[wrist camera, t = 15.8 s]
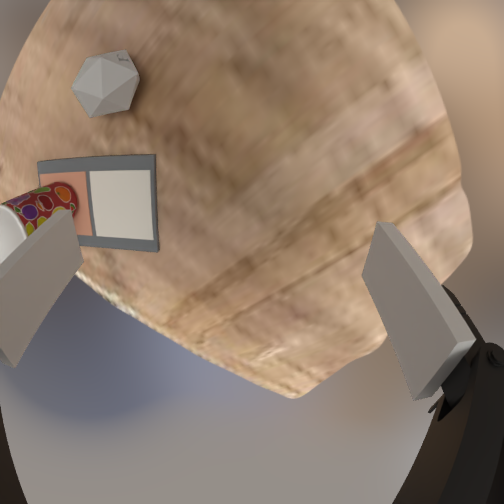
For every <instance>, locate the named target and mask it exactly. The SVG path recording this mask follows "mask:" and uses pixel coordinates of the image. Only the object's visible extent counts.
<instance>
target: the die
mask: <svg viewBox="0 0 504 504" xmlns="http://www.w3.org/2000/svg"><path fill="white" fill-rule="evenodd" d="M139 81H140V78H139V74H138V71H137V70H136V68H135V66H134V64H133V62H132V60H131V58H130V56H129V54H128V53H127V51H126V49H125V50H120V51H115V52H110V53H105V54H101V55H96V56H92V57H88V58H86V60H85V62H84V64H83V66H82V67H81V69H80V71H79V73H78V75H77V77H76V79H75V81H74V83H73V85H72V87H71V89H72V91H73V92H74V94H75V95H76V97H77V99H78V100H79V102H80V103H81V105H82V107H83V108H84V110H85V111H86V113H87V114H88V116H89V118H92V117H96V116H101V115H105V114H110V113H114V112H119V111H124V110H129V108H130V105H131V102H132V99H133V96H134V94H135V91H136V89H137V86H138V83H139Z"/></svg>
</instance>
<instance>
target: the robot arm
mask: <svg viewBox="0 0 504 504" xmlns="http://www.w3.org/2000/svg"><path fill="white" fill-rule="evenodd" d="M83 262H84V260H83V257H82V253H81V250H80V246H79V242H78V238H77V234H76V230H75V225H74V221H73V217H72V212H71V210H58V211H56V212H55V213H54V214H53V215H52V216H51V217H49V218H48V219H47V220H46V221H45V222H44V223H43V224H42V225H40V226H39V227H38V228H37V229H36V230H35V231H34V232H33V233H32V234H31V235H30V236H28V237H27V238H26V239H25V240H24V241H23V242H22V243H21V244H20V245H19V246H18V247H17V248H16V249H15V250H14V251H13V252H12V253H11V254H10V255H9V256H8V257H7V258H6V259H5V260H4V261H3V262H2V263H1V264H0V360H1V362H2V363H4V364H6V365H8V366H11V367H13V368H15V367H16V366H17V364H18V362H19V360H20V358H21V356H22V355H23V353H24V351H25V349H26V348H27V346H28V344H29V342H30V341H31V339H32V337H33V336H34V334H35V332H36V331H37V329H38V328H39V326H40V324H41V323H42V321H43V319H44V318H45V316H46V315H47V313H48V312H49V310H50V309H51V307H52V306H53V304H54V303H55V301H56V299H57V298H58V297H59V295H60V294H61V292H62V291H63V290H64V288H65V287H66V285H67V284H68V283H69V281H70V280H71V278H72V277H73V275H74V274H75V273H76V272H77V270H78V269H79V267H80V266H81V265H82V263H83ZM362 277H363V279H364V282H365V284H366V286H367V288H368V290H369V292H370V295H371V297H372V299H373V301H374V303H375V306H376V308H377V310H378V312H379V315H380V317H381V319H382V322H383V324H384V326H385V329H386V331H387V333H388V336H389V338H390V341H391V343H392V345H393V348H394V350H395V353H396V355H397V358H398V360H399V363H400V365H401V368H402V371H403V374H404V376H405V379H406V382H407V385H408V387H409V390H410V393H411V396H412V399H413V401H414V400H419V399H423V398H428V397H432V396H433V394H434V393H435V392H436V391H437V390H438V389H439V387H440V386H441V387H442V390H443V392H444V394H443V395H442V396H441V397H440V398H439V399H438V400H437V401H436V403H435V404H434V405H433V406H432V407H431V408H430V409H429V411H428V413H431V412H432V411H433V410H434V409H435V408H436V411H435V413H434V416H433V419H432V421H431V424H430V427H429V429H428V432H427V435H426V437H425V439H424V441H423V444H422V446H421V449H420V451H419V453H418V455H417V457H416V459H415V462H414V464H413V466H412V468H411V470H410V472H409V474H408V476H407V478H406V480H405V482H404V483H403V485H402V487H401V489H400V491H399V493H398V494H397V496H396V498H395V500H394V502H393V503H392V504H504V350H503V349H502V348H501V347H500V346H498V345H497V344H494V343H485V341H484V340H483V338H482V336H481V335H480V333H479V332H478V330H477V328H476V327H475V325H474V324H473V322H472V320H471V319H470V317H469V316H468V315H467V314H466V311H465V310H464V308H463V307H462V306H461V304H460V303H459V301H458V299H457V298H456V297H455V295H454V294H453V293H452V292H451V291H450V290H448V289H447V288H446V287H445V286H444V285H440V283H439V282H438V280H437V279H436V278H435V276H434V275H433V273H432V272H431V271H430V269H429V268H428V267H427V265H426V264H425V263H424V261H423V260H422V259H421V258H420V256H419V255H418V254H417V252H416V251H415V250H414V249H413V247H412V246H411V245H410V244H409V242H408V241H407V240H406V239H405V237H404V236H403V235H402V234H401V232H400V231H399V230H398V229H397V228H396V226H395V225H394V224H393V223H388V222H378V221H377V223H376V227H375V231H374V235H373V238H372V242H371V246H370V249H369V253H368V256H367V259H366V263H365V266H364V269H363V273H362ZM0 504H28V503H27V501H26V498H25V496H24V493H23V491H22V488H21V485H20V482H19V480H18V476H17V474H16V470H15V467H14V464H13V460H12V457H11V453H10V449H9V446H8V442H7V437H6V433H5V428H4V424H3V418H2V413H1V407H0Z"/></svg>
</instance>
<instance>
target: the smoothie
mask: <svg viewBox="0 0 504 504" xmlns="http://www.w3.org/2000/svg"><path fill="white" fill-rule="evenodd" d="M77 205H78V204H77V197H76V195H75V192H74V191H73V189H72V188H71V187H70V186H69V185H67V184H64V183H60V182H53V183H50V184H48V185H45V186H43V187H40V188H37V189H35V190H32V191H30V192H27V193H25V194H22V195H20V196H18V197H15V198H13V199H11V200H8V201H6V202H4V203H2V204H0V264H1V263H2V262H3V261H4V260H5V259H6V258H7V257H8V256H9V255H10V254H11V253H12V252H13V251H14V250H15V249H16V248H17V247H18V246H19V245H20V244H21V243H22V242H23V241H24V240H25V239H26V238H27V237H28V236H30V235H31V234H32V233H33V232H34V231H35V230H36V229H37V228H38V227H39V226H40V225H42V224H43V223H44V222H45V221H46V220H47V219H48V218H49V217H51V216H52V215H53V214H54V213H55V212H56V211H58V210H71V212H72V217H73V218H74V216H75V212H76V210H77Z"/></svg>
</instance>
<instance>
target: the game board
mask: <svg viewBox="0 0 504 504" xmlns="http://www.w3.org/2000/svg"><path fill="white" fill-rule="evenodd" d="M37 166H38V176H39V185H40V187H43V186H45V185H48V184H50V183H53V182H60V183H64V184H67V185H69V186H70V187H71V188H72V189H73V191H74V192H75V195H76V197H77V204H78V205H77V210H76V212H75V216H74V218H73V221H74V225H75V230H76V234H77V238H78V242H79V246H90V247H101V248H112V249H124V250H135V251H147V252H159V250H160V249H159V235H158V218H157V195H156V154H141V155H110V156H92V157H78V158H66V159H55V160H46V161H39V162H37Z"/></svg>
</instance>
